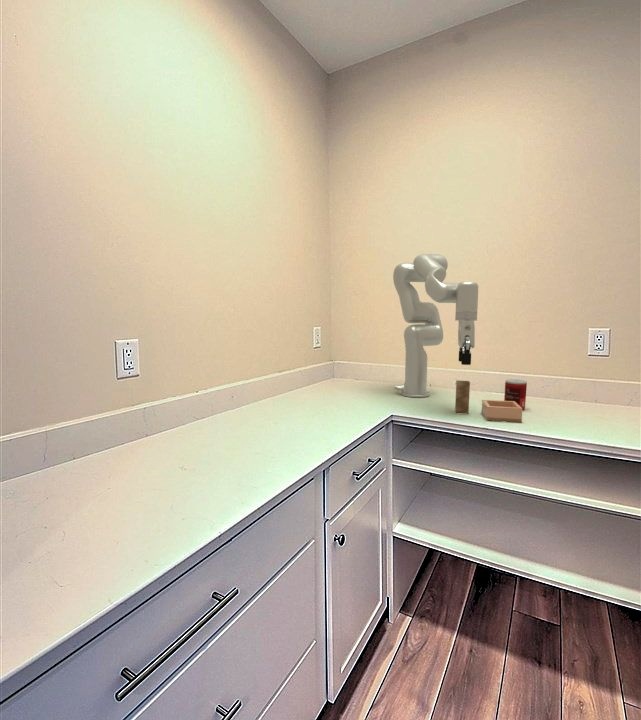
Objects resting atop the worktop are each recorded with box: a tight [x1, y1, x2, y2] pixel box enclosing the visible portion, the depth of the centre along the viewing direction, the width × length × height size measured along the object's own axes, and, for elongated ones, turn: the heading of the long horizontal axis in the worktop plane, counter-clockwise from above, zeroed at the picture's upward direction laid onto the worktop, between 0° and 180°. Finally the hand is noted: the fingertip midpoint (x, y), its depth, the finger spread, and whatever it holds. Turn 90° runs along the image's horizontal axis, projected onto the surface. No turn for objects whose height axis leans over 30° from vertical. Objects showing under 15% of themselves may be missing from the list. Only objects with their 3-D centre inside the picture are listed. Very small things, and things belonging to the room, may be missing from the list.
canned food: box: [503, 378, 528, 411], centre depth 165 cm, size 8×8×11 cm
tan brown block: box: [454, 379, 471, 415], centre depth 158 cm, size 4×3×12 cm, turn 78°
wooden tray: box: [481, 399, 523, 424], centre depth 152 cm, size 11×11×5 cm
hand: (464, 363), depth 156 cm, fingers open, 9 cm apart
